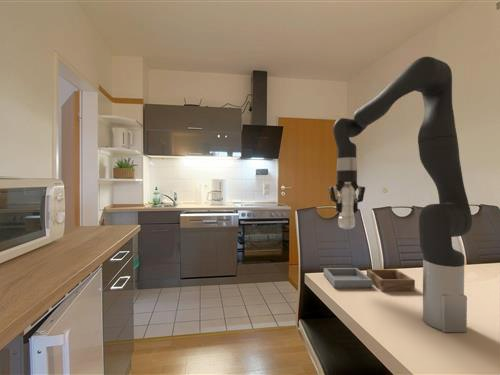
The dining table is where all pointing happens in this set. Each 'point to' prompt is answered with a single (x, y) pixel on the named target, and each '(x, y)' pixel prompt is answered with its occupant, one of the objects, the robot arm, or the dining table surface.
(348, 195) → the plastic bottle
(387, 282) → the walnut collar
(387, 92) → the robot arm
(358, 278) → the grey tray
